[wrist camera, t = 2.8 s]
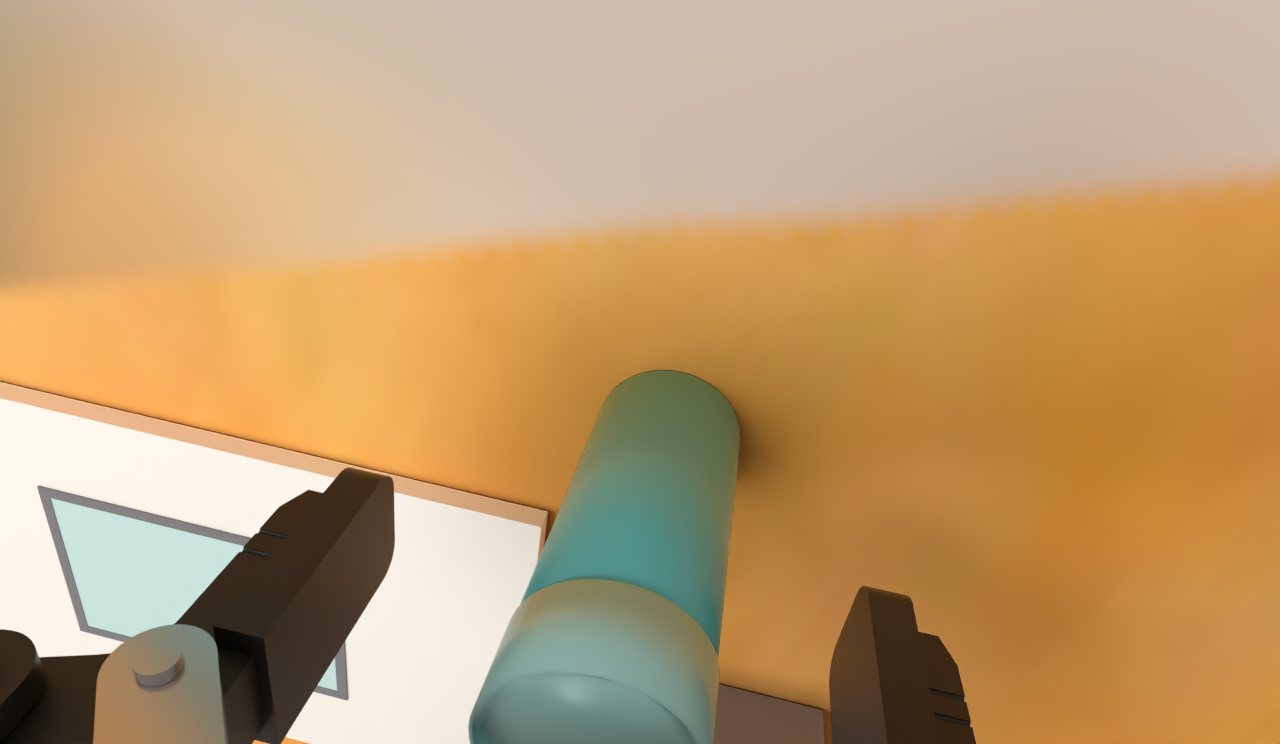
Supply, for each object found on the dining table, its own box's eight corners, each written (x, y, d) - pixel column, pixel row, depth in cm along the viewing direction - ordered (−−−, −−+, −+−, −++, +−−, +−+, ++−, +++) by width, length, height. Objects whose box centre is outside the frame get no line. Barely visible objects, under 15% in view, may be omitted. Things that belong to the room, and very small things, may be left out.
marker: (757, 386, 16) (733, 707, 9) (725, 507, 18) (685, 856, 11) (605, 353, 17) (473, 643, 10) (588, 475, 18) (464, 797, 11)
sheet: (548, 511, 19) (540, 528, 18) (516, 779, 24) (510, 799, 24) (-78, 363, 20) (-104, 375, 20) (24, 648, 26) (7, 664, 25)
